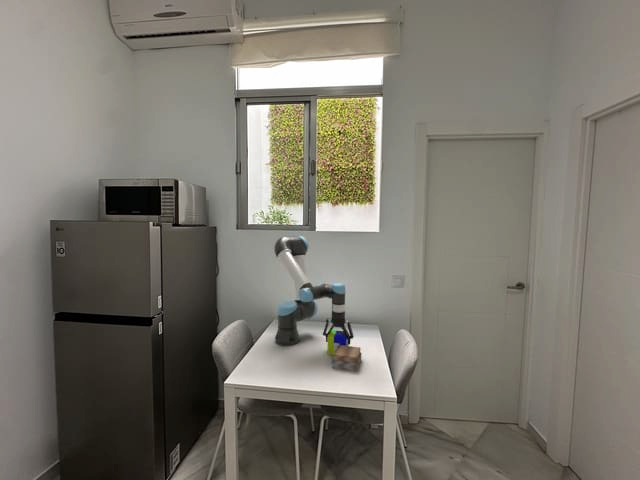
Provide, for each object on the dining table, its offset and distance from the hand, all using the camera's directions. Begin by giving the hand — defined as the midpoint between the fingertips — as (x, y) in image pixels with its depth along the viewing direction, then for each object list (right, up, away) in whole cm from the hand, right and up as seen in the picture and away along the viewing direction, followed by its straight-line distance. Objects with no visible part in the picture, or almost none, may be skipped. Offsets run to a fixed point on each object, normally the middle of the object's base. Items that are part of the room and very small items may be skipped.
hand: (337, 348), depth 175 cm
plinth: (+4, -3, -15) cm, 16 cm away
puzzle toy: (0, -2, 0) cm, 2 cm away
